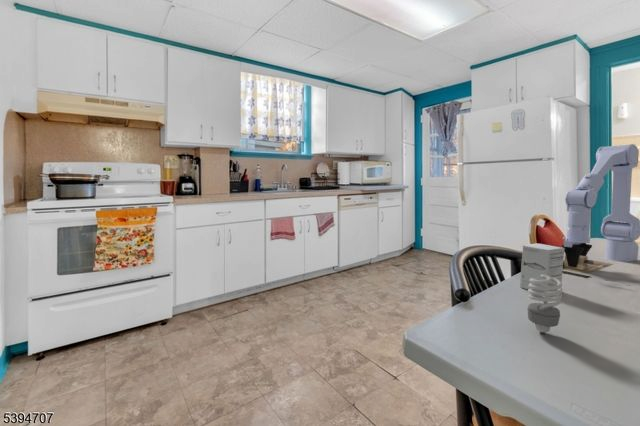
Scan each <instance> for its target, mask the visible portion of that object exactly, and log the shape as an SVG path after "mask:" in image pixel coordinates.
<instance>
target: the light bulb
mask: <svg viewBox="0 0 640 426" xmlns="http://www.w3.org/2000/svg"><path fill="white" fill-rule="evenodd" d="M540 277H541V278H543V279H546V280H543V279H538V278H530V280H529V281H530V282H532V283H530V284H529V285H528V286H529V287H530V288H533V289H527V292H528V293H529V294H528V297H529V299H530V300H533V301H538V302H532V303H529V304H528V305H527V318H528V320H529V321H530V322H531V323H533V324H534V329H535V330H536V331H538V332H539V333H541V334H546V333H549V332H550V331H551V327H557V326H558V325H559V322H560V317H561V311H560V309H558V308H557V306H559V305H560V304H561V303H562V298H563V294H562V293H563V288H562V287H563V283H562V282H561V281H559V280H558V279H556V278H553V277H550V276H546V275H540ZM551 281H554V282H556V283H557V284H555V283H553V282H551ZM535 283H536V284H535ZM542 284H548V285H551V286H546V285H542ZM556 289H558V290H556ZM544 290H549V291H552V292H547V291H544ZM541 302H543V303H541Z"/></svg>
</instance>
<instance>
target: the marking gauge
mask: <svg viewBox="0 0 640 426" xmlns="http://www.w3.org/2000/svg"><path fill="white" fill-rule="evenodd" d="M564 260H565V262H564V267H568V268H573V269H579V270H584V269H587V264H592V265H593V261H594V260H592V261H590V260H591V259H589V256H587V255H586V256H581V255H580V257H579V261H578V265H577V267H570V266H568V262H567V257H566V254H564Z"/></svg>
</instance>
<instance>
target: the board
mask: <svg viewBox="0 0 640 426" xmlns="http://www.w3.org/2000/svg"><path fill="white" fill-rule="evenodd" d="M589 260H590V261H593V265H592V264H587V269H584V270H579V269H573V268H568V267H564V262H565V259H563V270H562V274H565V275H570V276H574V277H578V278H583V279H584V278H585V279H589V278H591V277H592V276H590V275H588V274H590V273H593V272H597V271H598V270H602V269H604V268H607V267H611V266H613V265H614V263H610V262H604V261H597V260H591V259H589ZM565 270H566V271H565ZM569 271H571V272H569ZM581 273H582V274H581Z"/></svg>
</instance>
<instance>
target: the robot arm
mask: <svg viewBox="0 0 640 426" xmlns="http://www.w3.org/2000/svg"><path fill="white" fill-rule="evenodd" d="M639 153H640V151H639V149H638V146H636V144H634V143H631V144H623V145H611V146H610V145H609V146H600V147H599V148H597V151H596V153H595V161H596V163H595V164H594V165H593V168H592V170H591V171H590V173H586V174H585V175H584V176H583V177H582V178H581V180H580V181H579V182H578V184H577V186H576V187H575V189H571V190H570V191H568V192H567V194H566V197H565V198H564V199H565V204H566V211H567V212H568V218H567V219H568V220H567V230H566V236H563V237H562V240H564V241H563V244H562V245H561V248H565V249H564V255H566V257H567V262H568V266H570V267H577V265H578V261H579V257H580V255H581V256H587V255H588V254H589V251H590V250H591V249H592V247H593V245H592V244H590V243H591V237H590V227H591V217H592V216H591V213H592V208H593V207H594V206H595V205H596V202H597V199H598V192H599V191H600V190H601V188H602V186H603V185H604V183H605V180H604V177H605V176H606V175H607V173H608V172H609V171H610V170H611V172H613V173H612V191H611V192H612V194H611V213H610V214H608V215H606V216H605V217H603V219H602V224H601V227H600V234H601V235H602V237H604V239H606V241H605V253H604V254H605V255H604V258H605V259H606V260H610V261H615V262H626V263H629V262H632V261H633V262H634V261H638V258H639V257H638V256H639V245H638V243H637V242H636V241H637V240H638V239H639V238H640V218H638V217H636V216H635V215H633V214H632V213H630V212H631V199H632V197H631V196H632V195H631V194H632V193H631V192H632V176H633V169H634V168H636V167H638V165H639V157H640V155H639Z"/></svg>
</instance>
